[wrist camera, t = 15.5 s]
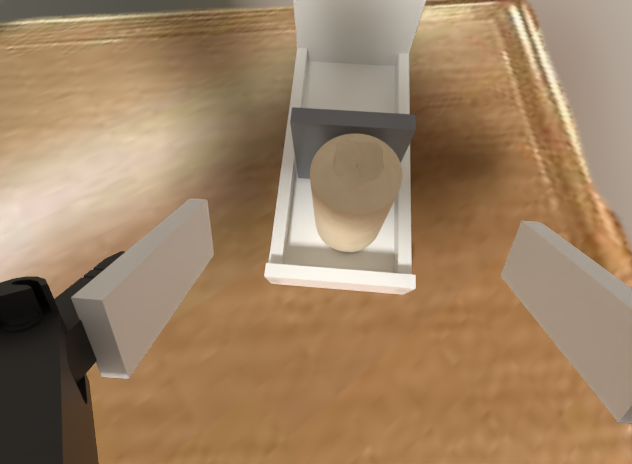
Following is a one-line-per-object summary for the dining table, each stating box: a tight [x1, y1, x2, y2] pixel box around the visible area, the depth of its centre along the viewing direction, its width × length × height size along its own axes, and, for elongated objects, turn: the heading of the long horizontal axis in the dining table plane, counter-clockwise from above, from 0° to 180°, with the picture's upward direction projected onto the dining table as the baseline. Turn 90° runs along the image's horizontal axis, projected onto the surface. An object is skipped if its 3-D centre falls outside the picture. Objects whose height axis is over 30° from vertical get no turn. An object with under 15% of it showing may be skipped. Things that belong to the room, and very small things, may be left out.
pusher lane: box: [264, 0, 426, 294], centre depth 25 cm, size 11×24×9 cm, turn 175°
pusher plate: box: [290, 107, 416, 179], centre depth 24 cm, size 8×1×8 cm, turn 85°
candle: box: [310, 133, 403, 252], centre depth 22 cm, size 6×6×10 cm
